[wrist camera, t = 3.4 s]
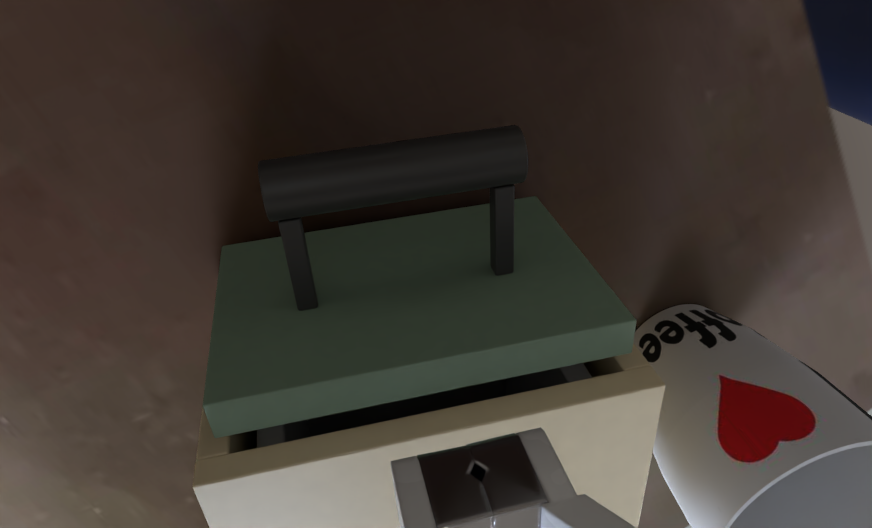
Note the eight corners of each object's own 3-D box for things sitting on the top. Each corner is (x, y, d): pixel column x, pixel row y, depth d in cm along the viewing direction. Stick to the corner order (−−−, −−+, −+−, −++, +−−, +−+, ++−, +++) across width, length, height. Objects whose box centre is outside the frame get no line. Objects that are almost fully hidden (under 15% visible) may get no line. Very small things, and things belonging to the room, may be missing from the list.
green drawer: (184, 117, 19) (142, 245, 13) (540, 72, 21) (660, 164, 15) (296, 506, 30) (304, 685, 23) (527, 454, 31) (594, 607, 25)
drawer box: (217, 274, 23) (191, 487, 15) (540, 220, 25) (666, 384, 17) (294, 529, 32) (303, 750, 24) (531, 474, 34) (612, 661, 26)
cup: (767, 269, 30) (959, 424, 21) (721, 395, 34) (866, 565, 26) (609, 286, 28) (752, 462, 20) (582, 416, 32) (689, 605, 24)
